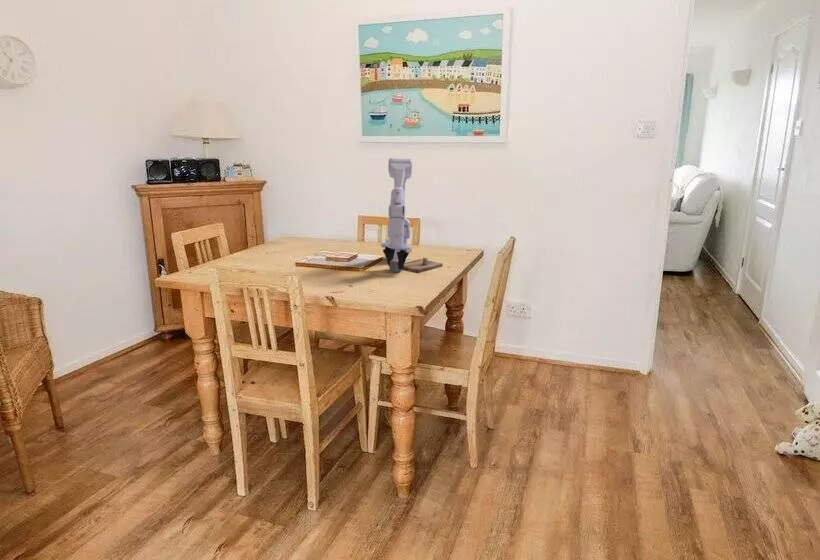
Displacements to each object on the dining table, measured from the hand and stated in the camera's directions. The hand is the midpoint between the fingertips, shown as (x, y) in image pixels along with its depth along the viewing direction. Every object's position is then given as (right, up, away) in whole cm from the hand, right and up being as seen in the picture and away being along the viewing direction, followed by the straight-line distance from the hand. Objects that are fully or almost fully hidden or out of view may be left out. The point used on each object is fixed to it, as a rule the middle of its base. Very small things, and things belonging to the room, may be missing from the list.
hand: (395, 267), depth 228 cm
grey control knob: (0, -1, 0) cm, 1 cm away
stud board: (+10, 0, +8) cm, 12 cm away
